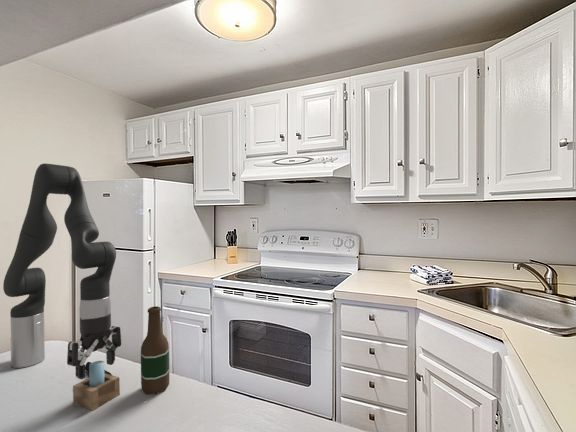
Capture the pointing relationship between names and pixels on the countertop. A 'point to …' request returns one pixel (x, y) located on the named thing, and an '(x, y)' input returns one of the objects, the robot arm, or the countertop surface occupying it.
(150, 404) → the countertop surface
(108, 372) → the electric trimmer
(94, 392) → the socket block
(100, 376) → the peg
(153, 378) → the beer bottle
